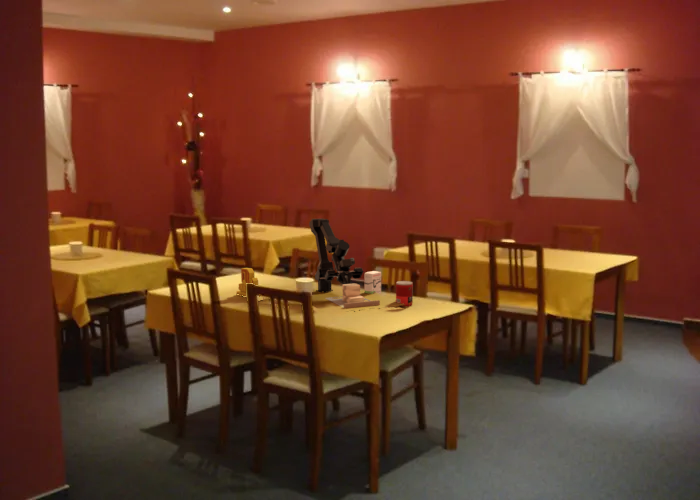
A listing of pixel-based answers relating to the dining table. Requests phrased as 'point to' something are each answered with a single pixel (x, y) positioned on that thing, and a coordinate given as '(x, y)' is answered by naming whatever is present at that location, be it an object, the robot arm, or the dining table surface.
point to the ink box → (372, 282)
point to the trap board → (339, 300)
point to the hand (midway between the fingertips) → (348, 288)
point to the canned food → (404, 292)
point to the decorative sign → (246, 280)
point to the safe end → (360, 304)
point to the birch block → (352, 293)
